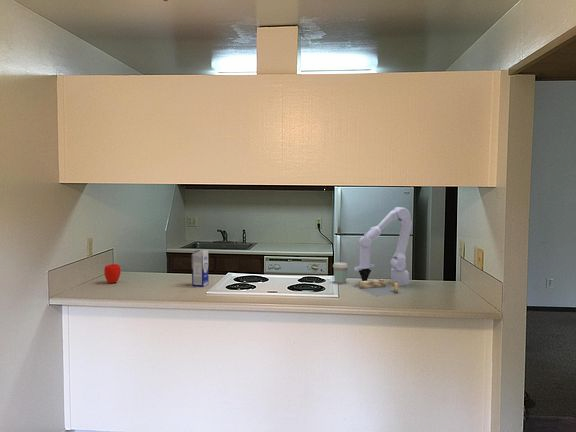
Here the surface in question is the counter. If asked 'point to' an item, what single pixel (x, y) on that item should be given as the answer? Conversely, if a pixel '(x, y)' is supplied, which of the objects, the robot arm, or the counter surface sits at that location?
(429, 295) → the counter surface
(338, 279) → the coffee cup
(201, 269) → the milk carton
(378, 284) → the link
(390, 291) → the board
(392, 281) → the keeper
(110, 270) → the apple
